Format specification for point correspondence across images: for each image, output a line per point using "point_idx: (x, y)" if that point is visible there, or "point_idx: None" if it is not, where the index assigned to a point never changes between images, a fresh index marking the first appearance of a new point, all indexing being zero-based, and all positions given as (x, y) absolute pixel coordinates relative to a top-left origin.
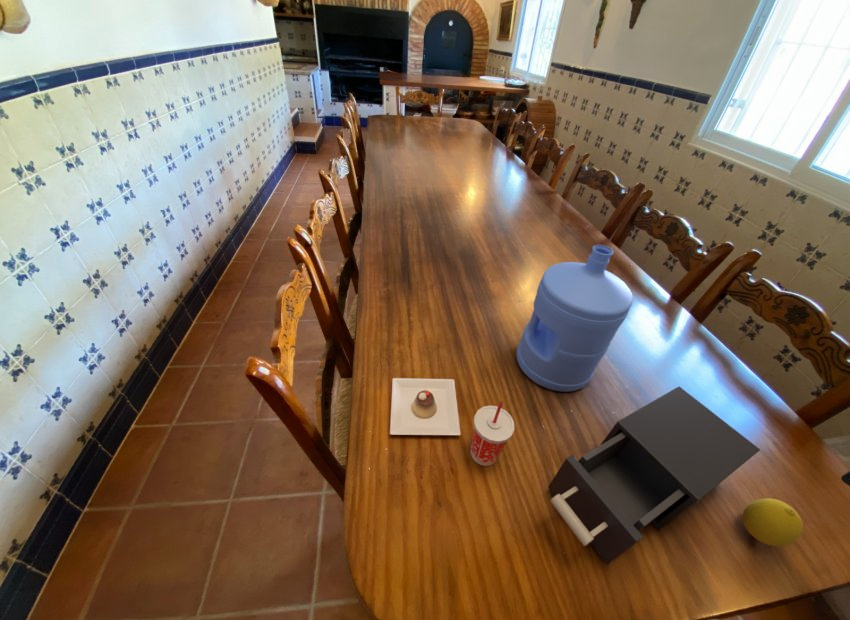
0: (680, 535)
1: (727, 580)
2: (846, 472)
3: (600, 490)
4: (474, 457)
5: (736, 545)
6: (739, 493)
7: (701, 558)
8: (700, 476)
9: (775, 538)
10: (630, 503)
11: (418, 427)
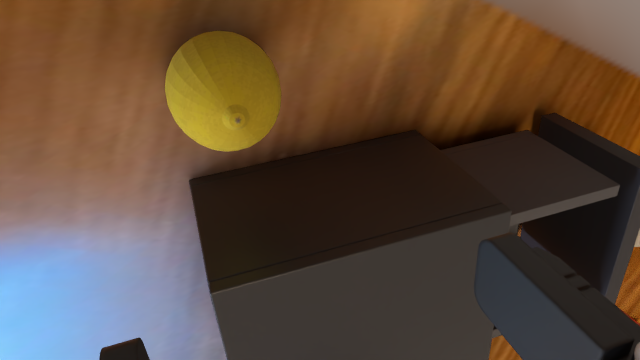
0: (382, 110)
1: (372, 13)
2: (490, 318)
3: (623, 251)
4: None
5: (282, 58)
6: (150, 146)
7: (383, 64)
8: (452, 252)
9: (270, 60)
10: None
11: None
